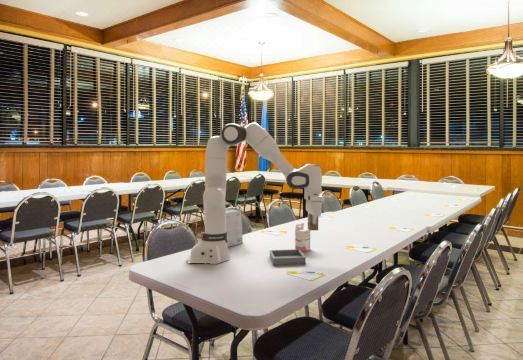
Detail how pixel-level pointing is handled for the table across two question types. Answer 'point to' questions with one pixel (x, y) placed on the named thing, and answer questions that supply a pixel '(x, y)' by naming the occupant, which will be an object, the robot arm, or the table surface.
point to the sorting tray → (287, 257)
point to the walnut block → (310, 224)
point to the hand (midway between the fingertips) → (312, 222)
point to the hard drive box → (234, 227)
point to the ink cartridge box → (302, 238)
